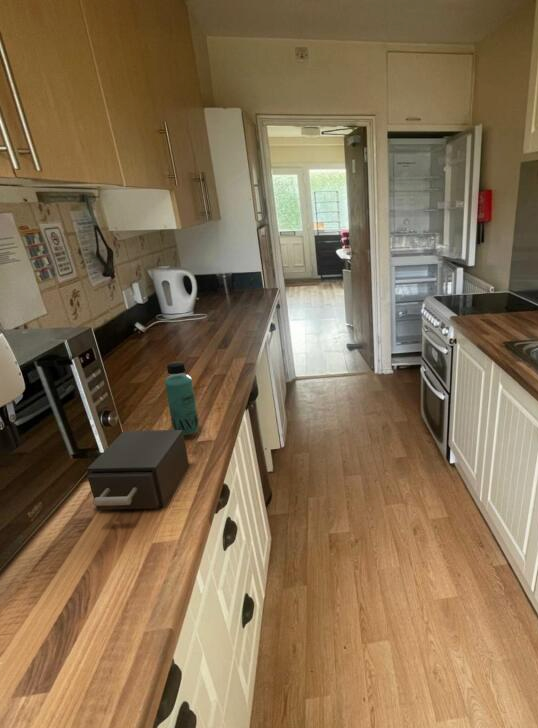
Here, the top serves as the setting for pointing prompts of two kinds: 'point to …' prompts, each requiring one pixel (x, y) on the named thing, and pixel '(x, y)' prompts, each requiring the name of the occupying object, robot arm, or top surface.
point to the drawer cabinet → (148, 458)
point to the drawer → (124, 490)
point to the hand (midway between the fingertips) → (7, 448)
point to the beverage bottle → (181, 399)
